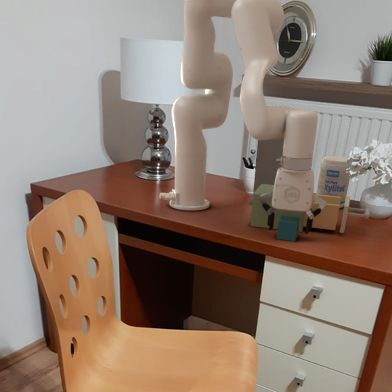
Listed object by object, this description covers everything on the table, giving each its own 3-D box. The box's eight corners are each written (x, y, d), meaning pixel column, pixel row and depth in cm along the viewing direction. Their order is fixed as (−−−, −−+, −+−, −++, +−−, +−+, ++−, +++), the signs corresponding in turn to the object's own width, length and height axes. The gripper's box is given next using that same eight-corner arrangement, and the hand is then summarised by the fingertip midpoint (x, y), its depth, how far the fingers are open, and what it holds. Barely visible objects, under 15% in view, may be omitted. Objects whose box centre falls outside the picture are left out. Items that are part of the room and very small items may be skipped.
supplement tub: (321, 209, 166) (329, 161, 158) (310, 201, 174) (316, 155, 166) (349, 209, 168) (358, 161, 160) (337, 201, 176) (345, 155, 168)
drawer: (366, 224, 151) (371, 198, 147) (365, 235, 141) (371, 209, 138) (299, 216, 155) (302, 191, 151) (294, 227, 146) (298, 201, 142)
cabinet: (306, 219, 156) (311, 188, 151) (301, 232, 145) (306, 199, 141) (258, 214, 159) (261, 183, 154) (250, 226, 148) (253, 193, 144)
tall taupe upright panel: (297, 205, 170) (308, 122, 157) (293, 209, 165) (304, 124, 152) (257, 199, 174) (264, 118, 161) (251, 203, 169) (258, 120, 156)
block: (297, 235, 142) (300, 217, 140) (295, 241, 138) (297, 222, 136) (279, 233, 144) (281, 215, 141) (276, 238, 139) (278, 220, 137)
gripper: (260, 163, 130) (254, 231, 139) (330, 169, 126) (320, 238, 135) (265, 158, 136) (259, 223, 145) (332, 164, 132) (322, 230, 141)
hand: (288, 230), depth 140 cm, fingers open, 9 cm apart
